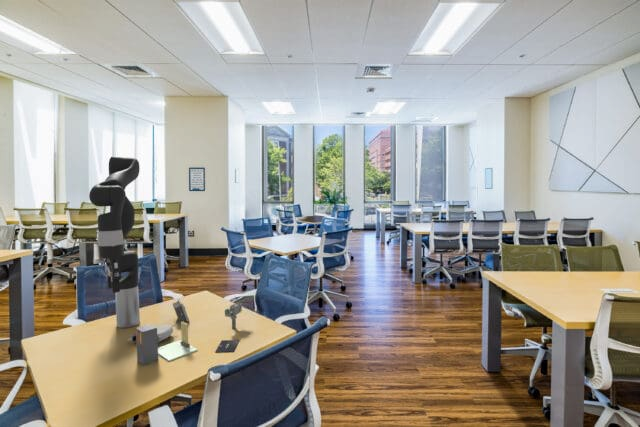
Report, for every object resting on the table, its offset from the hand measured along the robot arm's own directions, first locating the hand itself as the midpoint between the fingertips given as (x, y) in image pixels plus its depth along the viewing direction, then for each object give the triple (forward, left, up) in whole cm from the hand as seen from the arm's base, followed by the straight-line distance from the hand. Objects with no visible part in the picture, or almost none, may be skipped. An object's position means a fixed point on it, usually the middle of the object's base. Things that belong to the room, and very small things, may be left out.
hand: (113, 289), depth 122 cm
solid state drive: (+19, +32, -27) cm, 46 cm away
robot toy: (-10, +16, -26) cm, 32 cm away
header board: (+7, +17, -26) cm, 32 cm away
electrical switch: (-21, +34, -26) cm, 48 cm away
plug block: (+7, +7, -26) cm, 28 cm away
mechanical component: (+6, +44, -26) cm, 52 cm away
